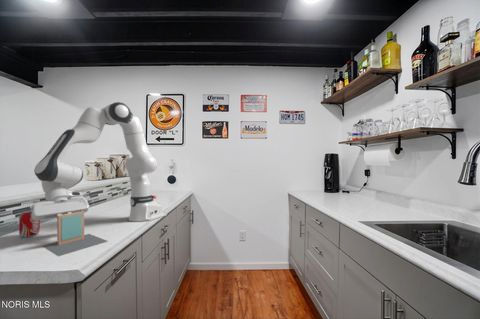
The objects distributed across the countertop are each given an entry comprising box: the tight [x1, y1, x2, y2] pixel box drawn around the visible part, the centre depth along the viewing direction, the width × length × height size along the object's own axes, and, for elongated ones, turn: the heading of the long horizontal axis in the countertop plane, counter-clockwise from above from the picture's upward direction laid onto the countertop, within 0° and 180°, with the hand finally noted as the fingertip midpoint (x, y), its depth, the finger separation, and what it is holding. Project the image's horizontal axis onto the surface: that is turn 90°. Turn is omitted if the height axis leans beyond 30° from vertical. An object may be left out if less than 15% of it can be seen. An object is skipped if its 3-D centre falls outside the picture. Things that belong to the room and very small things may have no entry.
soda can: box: [18, 209, 41, 239], centre depth 101 cm, size 7×7×12 cm
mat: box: [42, 233, 109, 257], centre depth 88 cm, size 17×19×1 cm
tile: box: [56, 211, 85, 245], centre depth 91 cm, size 9×2×12 cm, turn 147°
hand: (66, 222), depth 93 cm, fingers closed
